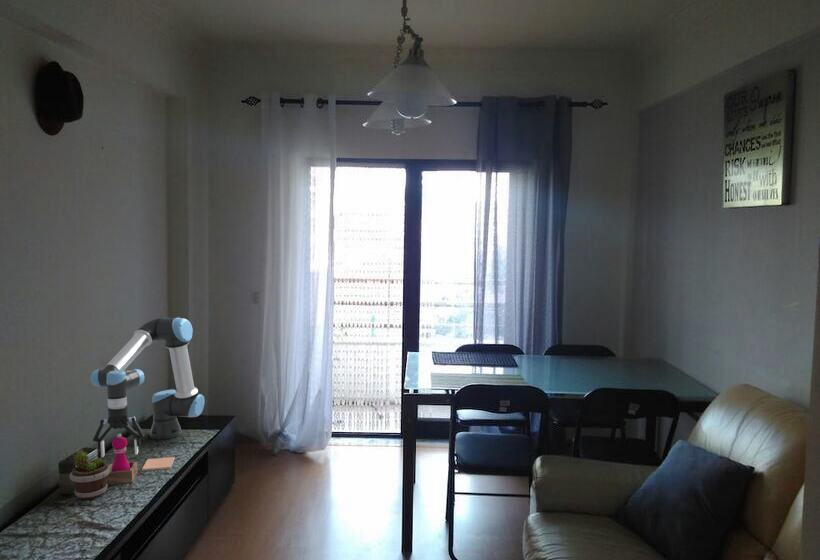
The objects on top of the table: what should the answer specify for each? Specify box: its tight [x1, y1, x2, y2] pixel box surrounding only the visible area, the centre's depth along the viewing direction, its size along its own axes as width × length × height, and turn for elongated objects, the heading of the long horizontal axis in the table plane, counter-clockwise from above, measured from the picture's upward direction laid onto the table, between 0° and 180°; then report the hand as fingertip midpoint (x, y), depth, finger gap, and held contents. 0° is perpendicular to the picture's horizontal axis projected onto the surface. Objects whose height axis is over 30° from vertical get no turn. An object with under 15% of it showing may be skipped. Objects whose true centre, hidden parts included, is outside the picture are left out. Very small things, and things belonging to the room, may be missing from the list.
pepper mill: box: [111, 433, 130, 472], centre depth 271 cm, size 7×7×20 cm
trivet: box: [141, 456, 176, 472], centre depth 287 cm, size 12×12×1 cm
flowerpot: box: [68, 448, 111, 500], centre depth 254 cm, size 14×15×20 cm
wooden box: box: [106, 461, 139, 485], centre depth 271 cm, size 11×11×5 cm
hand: (119, 455), depth 270 cm, fingers open, 13 cm apart
